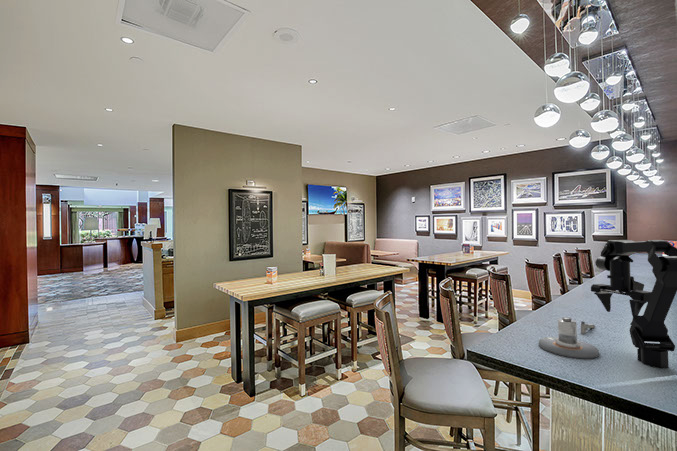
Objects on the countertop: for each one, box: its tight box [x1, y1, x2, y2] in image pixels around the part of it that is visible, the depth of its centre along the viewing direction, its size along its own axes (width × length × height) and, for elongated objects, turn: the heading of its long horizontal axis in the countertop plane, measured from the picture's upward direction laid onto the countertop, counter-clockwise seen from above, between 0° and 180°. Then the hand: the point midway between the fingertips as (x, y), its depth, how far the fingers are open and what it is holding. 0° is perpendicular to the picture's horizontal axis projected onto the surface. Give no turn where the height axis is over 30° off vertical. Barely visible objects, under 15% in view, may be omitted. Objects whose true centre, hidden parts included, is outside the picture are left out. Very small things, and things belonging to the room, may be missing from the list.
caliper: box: [580, 320, 596, 335], centre depth 138 cm, size 20×1×6 cm, turn 130°
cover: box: [555, 316, 581, 349], centre depth 116 cm, size 8×8×10 cm
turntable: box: [538, 336, 600, 359], centre depth 116 cm, size 18×18×1 cm
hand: (621, 314), depth 117 cm, fingers open, 9 cm apart
